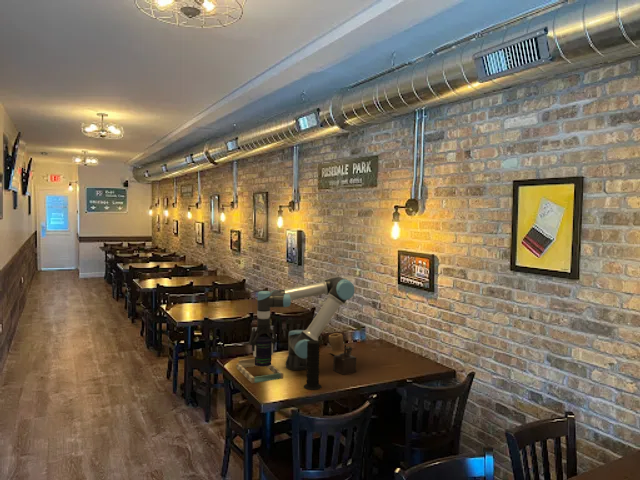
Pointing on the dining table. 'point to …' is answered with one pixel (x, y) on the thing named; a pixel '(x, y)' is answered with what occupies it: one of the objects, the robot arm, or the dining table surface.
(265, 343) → the storage jar
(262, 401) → the dining table surface
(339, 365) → the dark boxy piece
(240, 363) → the shallow rimmed tray
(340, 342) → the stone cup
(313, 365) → the handle grip
